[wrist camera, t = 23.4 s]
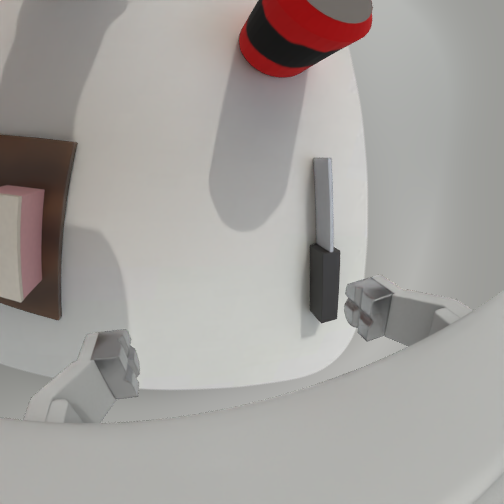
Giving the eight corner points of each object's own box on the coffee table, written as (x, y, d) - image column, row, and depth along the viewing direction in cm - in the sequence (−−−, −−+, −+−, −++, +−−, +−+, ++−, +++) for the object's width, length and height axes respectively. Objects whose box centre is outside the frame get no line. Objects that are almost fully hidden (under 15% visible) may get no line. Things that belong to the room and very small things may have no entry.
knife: (325, 306, 33) (337, 319, 30) (309, 310, 32) (321, 323, 29) (323, 157, 27) (338, 157, 24) (305, 158, 27) (320, 158, 24)
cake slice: (6, 184, 19) (-22, 191, 14) (45, 189, 20) (18, 196, 15) (6, 271, 21) (-18, 291, 16) (42, 280, 22) (21, 302, 18)
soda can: (319, 37, 23) (390, -8, 12) (297, 90, 24) (372, 57, 13) (254, 6, 20) (300, -61, 9) (226, 59, 22) (262, -4, 11)
